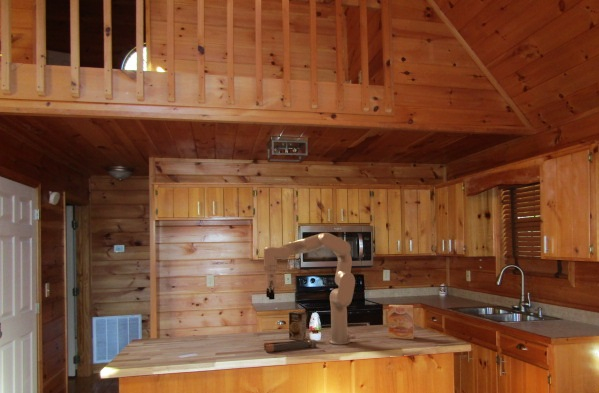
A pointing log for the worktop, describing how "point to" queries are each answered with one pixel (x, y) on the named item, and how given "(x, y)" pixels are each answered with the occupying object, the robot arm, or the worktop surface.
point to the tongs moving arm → (288, 346)
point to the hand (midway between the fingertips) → (270, 298)
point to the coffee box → (297, 325)
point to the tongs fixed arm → (288, 342)
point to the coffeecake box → (401, 321)
